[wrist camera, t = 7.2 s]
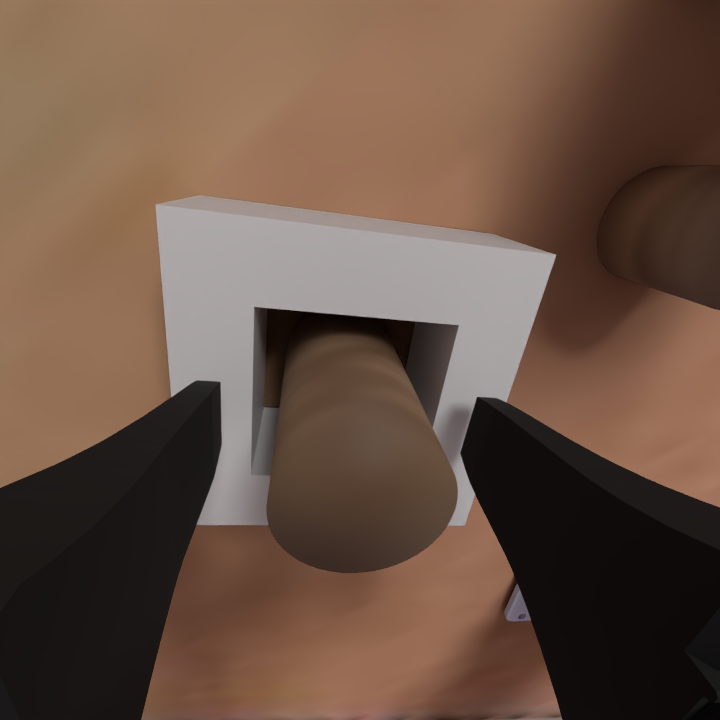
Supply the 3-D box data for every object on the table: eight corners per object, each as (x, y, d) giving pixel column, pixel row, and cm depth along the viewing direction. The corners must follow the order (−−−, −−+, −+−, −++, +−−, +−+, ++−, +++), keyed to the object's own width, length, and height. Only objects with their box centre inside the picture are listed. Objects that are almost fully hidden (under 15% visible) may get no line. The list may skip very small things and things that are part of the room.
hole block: (492, 233, 14) (556, 255, 10) (433, 455, 18) (464, 525, 15) (200, 195, 12) (155, 204, 9) (209, 448, 16) (181, 525, 13)
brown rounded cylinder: (397, 307, 15) (479, 434, 8) (380, 398, 16) (434, 572, 9) (291, 296, 14) (270, 423, 7) (284, 391, 16) (262, 573, 9)
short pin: (720, 175, 14) (861, 175, 10) (669, 283, 16) (775, 316, 12) (623, 157, 13) (738, 152, 10) (581, 273, 15) (665, 304, 11)
